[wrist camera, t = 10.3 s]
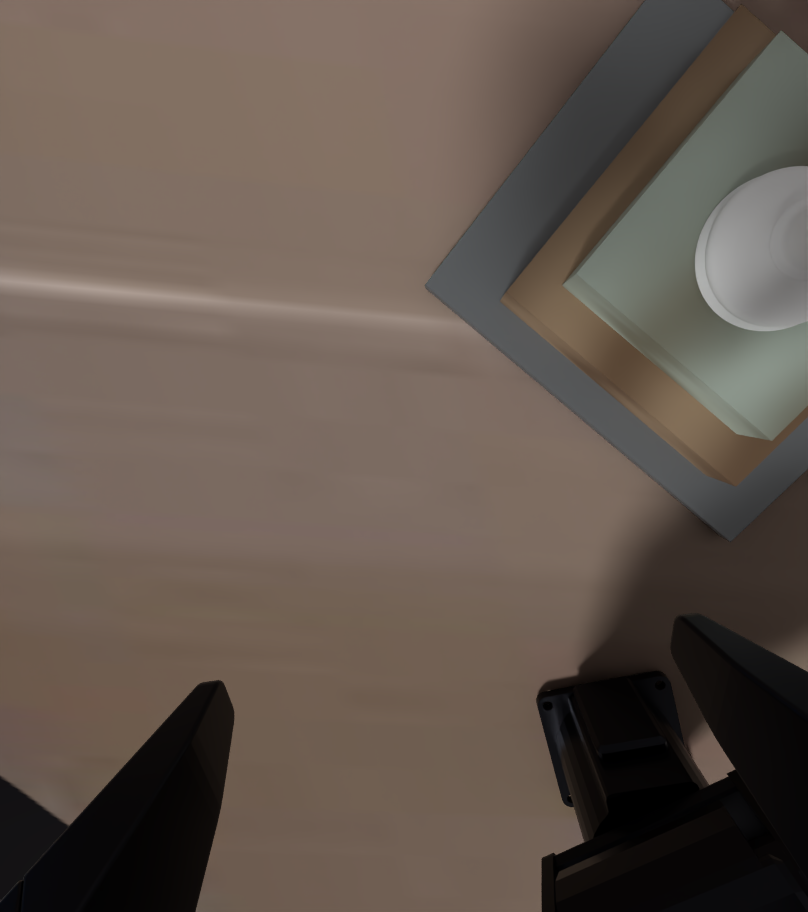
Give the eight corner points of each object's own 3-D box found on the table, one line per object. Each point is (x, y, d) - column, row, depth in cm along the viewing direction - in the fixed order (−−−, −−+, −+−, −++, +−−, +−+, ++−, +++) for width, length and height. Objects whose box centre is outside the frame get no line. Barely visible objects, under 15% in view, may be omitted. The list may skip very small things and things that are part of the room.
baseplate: (996, 272, 19) (1020, 267, 18) (720, 536, 22) (730, 541, 21) (666, -23, 18) (676, -40, 18) (425, 288, 21) (424, 285, 20)
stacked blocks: (932, 249, 18) (1073, 212, 14) (706, 475, 21) (770, 499, 16) (705, 48, 18) (783, -50, 14) (499, 301, 20) (513, 281, 16)
